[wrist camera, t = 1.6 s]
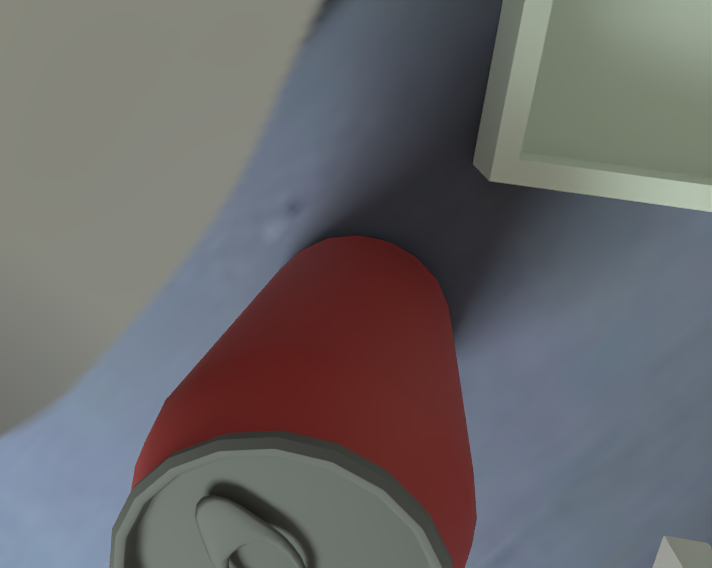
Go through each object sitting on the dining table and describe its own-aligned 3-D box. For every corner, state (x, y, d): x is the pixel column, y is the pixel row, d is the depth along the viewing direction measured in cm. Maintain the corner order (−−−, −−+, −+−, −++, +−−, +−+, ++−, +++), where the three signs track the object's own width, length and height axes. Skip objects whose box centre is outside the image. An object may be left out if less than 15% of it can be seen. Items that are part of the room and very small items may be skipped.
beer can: (384, 193, 19) (328, 324, 7) (485, 349, 20) (573, 670, 9) (232, 293, 20) (-8, 527, 9) (334, 431, 22) (238, 791, 10)
